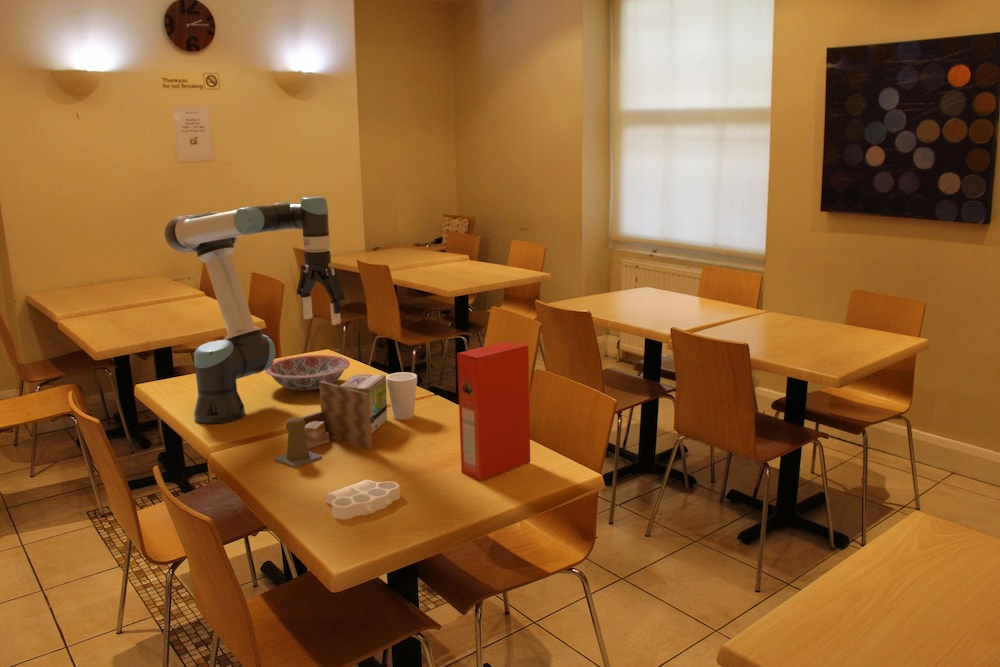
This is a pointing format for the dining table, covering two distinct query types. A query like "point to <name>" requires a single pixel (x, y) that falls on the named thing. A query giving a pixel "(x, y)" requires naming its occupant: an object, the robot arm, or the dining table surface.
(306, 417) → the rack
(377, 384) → the tea box
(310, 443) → the offcut lower
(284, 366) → the ceramic bowl
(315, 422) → the offcut upper
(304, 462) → the coaster
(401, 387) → the foam cup
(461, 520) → the dining table surface
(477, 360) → the file binder
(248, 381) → the dining table surface
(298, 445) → the olive brown peg
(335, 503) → the white flat holed block
